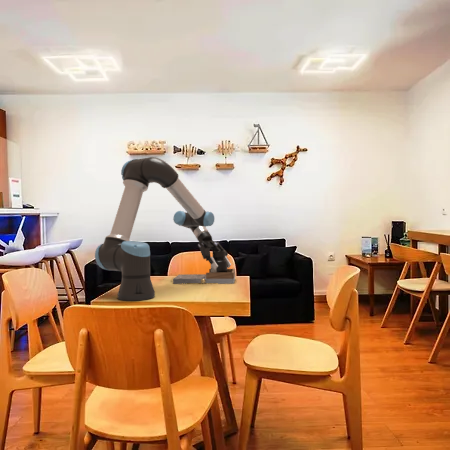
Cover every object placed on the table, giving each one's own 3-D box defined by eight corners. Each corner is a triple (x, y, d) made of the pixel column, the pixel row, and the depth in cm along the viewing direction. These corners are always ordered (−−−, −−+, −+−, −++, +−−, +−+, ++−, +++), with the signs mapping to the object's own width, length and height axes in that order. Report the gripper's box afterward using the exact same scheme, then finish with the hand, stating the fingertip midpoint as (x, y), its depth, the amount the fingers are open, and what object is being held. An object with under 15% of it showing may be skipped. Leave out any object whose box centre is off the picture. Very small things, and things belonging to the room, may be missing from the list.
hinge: (233, 283, 193) (233, 278, 193) (172, 284, 195) (172, 278, 195) (235, 278, 211) (235, 273, 211) (179, 278, 213) (179, 273, 213)
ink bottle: (210, 272, 207) (210, 250, 207) (226, 272, 208) (226, 250, 208) (211, 275, 197) (210, 251, 197) (228, 274, 198) (227, 251, 198)
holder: (233, 278, 194) (233, 272, 194) (206, 278, 195) (206, 272, 195) (235, 274, 210) (234, 268, 210) (209, 274, 211) (209, 268, 211)
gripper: (214, 239, 221) (234, 269, 209) (184, 241, 206) (204, 273, 195) (220, 230, 217) (241, 260, 205) (190, 231, 202) (210, 264, 191)
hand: (223, 267), depth 200 cm, fingers closed on ink bottle, 9 cm apart
